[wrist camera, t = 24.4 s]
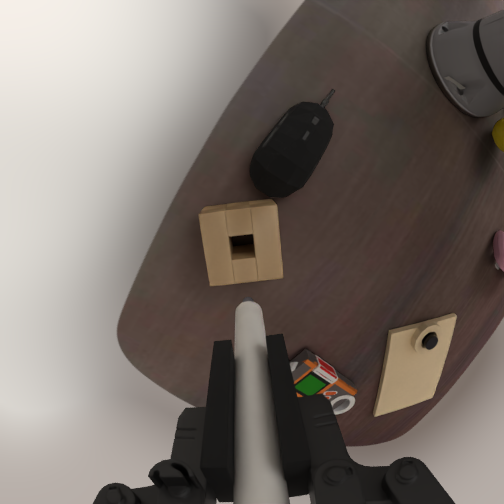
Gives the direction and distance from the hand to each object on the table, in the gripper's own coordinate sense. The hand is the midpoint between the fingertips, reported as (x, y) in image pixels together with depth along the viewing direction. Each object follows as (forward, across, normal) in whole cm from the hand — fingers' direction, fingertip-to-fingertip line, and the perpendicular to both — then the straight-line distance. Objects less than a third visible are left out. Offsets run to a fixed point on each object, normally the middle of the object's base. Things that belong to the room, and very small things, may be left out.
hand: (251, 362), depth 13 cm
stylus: (+6, 0, 0) cm, 6 cm away
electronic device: (+22, +8, -24) cm, 34 cm away
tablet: (+22, +26, -26) cm, 42 cm away
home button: (+20, +26, -18) cm, 37 cm away
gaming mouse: (+22, +7, +11) cm, 26 cm away
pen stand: (+22, 0, 0) cm, 22 cm away
